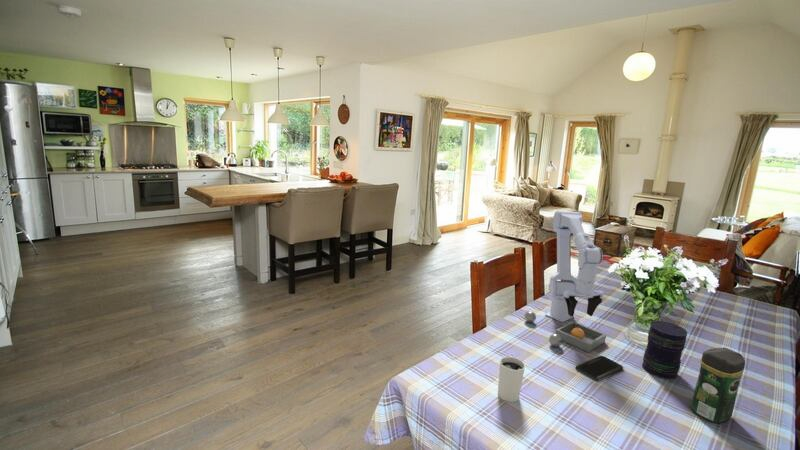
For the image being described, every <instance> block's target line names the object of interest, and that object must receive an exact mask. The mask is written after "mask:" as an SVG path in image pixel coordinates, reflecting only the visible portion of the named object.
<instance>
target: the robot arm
mask: <svg viewBox="0 0 800 450" xmlns="http://www.w3.org/2000/svg"><path fill="white" fill-rule="evenodd" d="M583 217H584V216H583V213H582V212H581V211H568V210H567V211H566V210H565V211H564V210H556V211H555V212H554V214H553V218H552V228H553V232H554V233H556V273H554V274H553V275H551V276H550V277H549V284H548V293H549V294H550V295H551V302H550V307H549V311H548V312H546V313H545V314H544V316H546V317H549V318H551V319H553V320H556V321H559V322H561V323H564V322H567V321H568V320H570V319H572V318H574V317H575V309H576V307H577V305H578V303H579V301H578V300H577V299H576V298H587V309H586V314H587V315H588V316H590V317H592V316H593V315H594V313H595V312H596V309H597V308H598V307H599V305H600V304H602V302H603V297H604V295H605V292H604V291H602V290H601V289H600V290H597V289H595V288H594V287H595V284H596V283H595V282H596V279H597V278H596V277H597V271H598V265H601V264H602V261H603V255H604V254H603V250H602V249H601V247H599V246H596V245H595V244H594V242H593V240H592V238H591V236H590V235H589V234H588V233H586V232H585V231H584V227H583V222H584V221H583V219H584V218H583ZM571 234H573V236H574V238H573V243H574V245H575V247H576V249H577V251H578V252H577V258H578V259H577V260H578V261H577V262H578V263H577V267H578V271H577V278H576V277H575V276H574V275H572V273H571V255H570V254H571V244H570V243H571V242H570V240H571V237H570V236H571Z"/></svg>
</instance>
